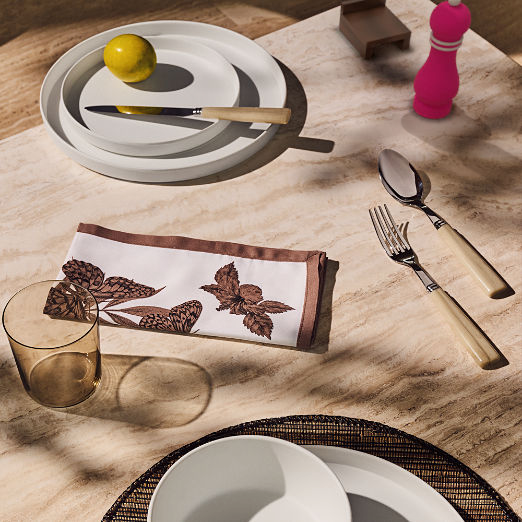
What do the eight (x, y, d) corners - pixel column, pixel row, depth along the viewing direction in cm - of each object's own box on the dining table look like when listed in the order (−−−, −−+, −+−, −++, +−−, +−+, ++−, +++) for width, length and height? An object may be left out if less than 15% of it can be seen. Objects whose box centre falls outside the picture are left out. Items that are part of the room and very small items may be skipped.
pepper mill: (438, 126, 110) (464, 12, 95) (401, 108, 113) (420, -5, 98) (461, 106, 114) (490, -8, 98) (425, 89, 117) (447, -24, 102)
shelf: (380, 19, 132) (384, -8, 128) (408, 48, 125) (413, 21, 121) (338, 29, 130) (340, 2, 126) (364, 59, 123) (368, 31, 119)
